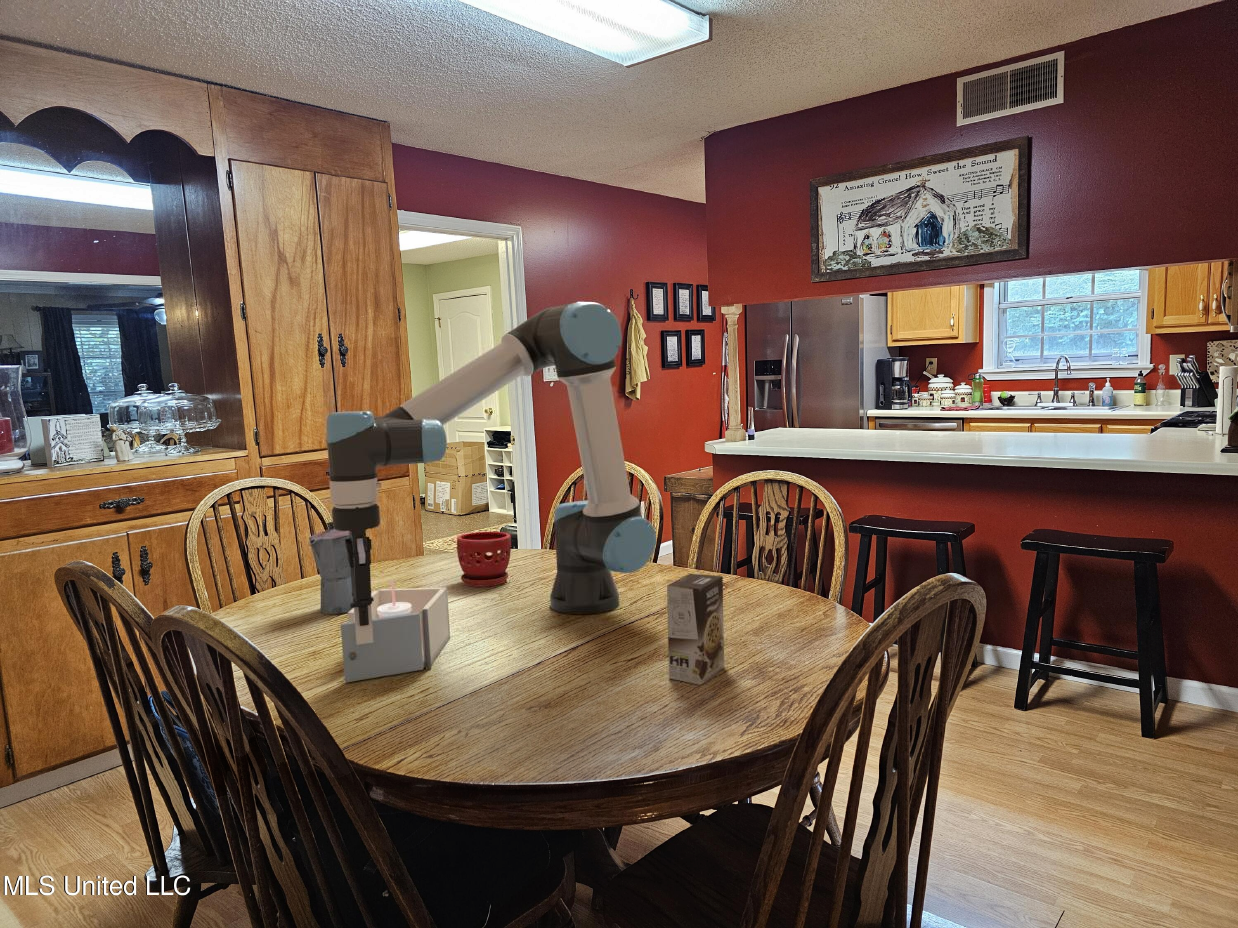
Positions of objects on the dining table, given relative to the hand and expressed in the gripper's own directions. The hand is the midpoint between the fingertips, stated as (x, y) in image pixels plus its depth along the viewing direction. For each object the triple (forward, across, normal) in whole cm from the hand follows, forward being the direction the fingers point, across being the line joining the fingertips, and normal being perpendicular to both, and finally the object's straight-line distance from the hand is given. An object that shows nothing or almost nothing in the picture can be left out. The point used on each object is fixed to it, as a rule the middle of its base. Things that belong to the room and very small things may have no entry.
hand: (364, 642), depth 135 cm
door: (+7, +1, -3) cm, 7 cm away
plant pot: (+6, +54, -34) cm, 64 cm away
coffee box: (+7, -23, -51) cm, 57 cm away
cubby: (+7, +12, -8) cm, 16 cm away
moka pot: (+7, +49, +1) cm, 49 cm away
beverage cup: (+6, +8, -6) cm, 12 cm away
